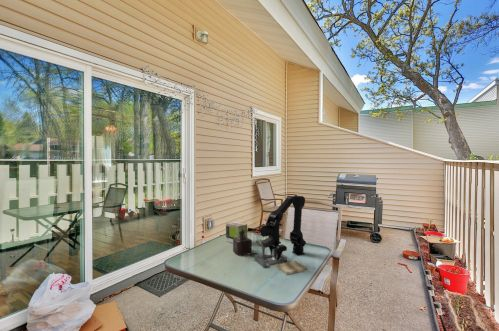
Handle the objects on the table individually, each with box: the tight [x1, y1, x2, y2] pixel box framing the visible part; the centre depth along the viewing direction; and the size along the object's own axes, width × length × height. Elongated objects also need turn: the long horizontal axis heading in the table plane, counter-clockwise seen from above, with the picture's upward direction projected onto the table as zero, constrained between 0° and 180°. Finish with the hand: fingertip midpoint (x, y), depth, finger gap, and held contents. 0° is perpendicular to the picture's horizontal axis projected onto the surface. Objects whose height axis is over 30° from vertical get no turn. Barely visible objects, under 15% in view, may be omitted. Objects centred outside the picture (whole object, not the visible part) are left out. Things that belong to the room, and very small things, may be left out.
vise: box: [254, 253, 288, 268], centre depth 161 cm, size 17×12×4 cm
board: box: [275, 260, 308, 275], centre depth 151 cm, size 14×12×1 cm
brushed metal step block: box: [266, 249, 280, 265], centre depth 159 cm, size 7×3×8 cm, turn 115°
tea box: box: [225, 221, 248, 244], centre depth 200 cm, size 15×10×15 cm
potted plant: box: [232, 229, 253, 256], centre depth 176 cm, size 16×11×18 cm
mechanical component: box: [255, 239, 266, 256], centre depth 172 cm, size 3×10×10 cm, turn 79°
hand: (275, 258), depth 160 cm, fingers open, 6 cm apart
